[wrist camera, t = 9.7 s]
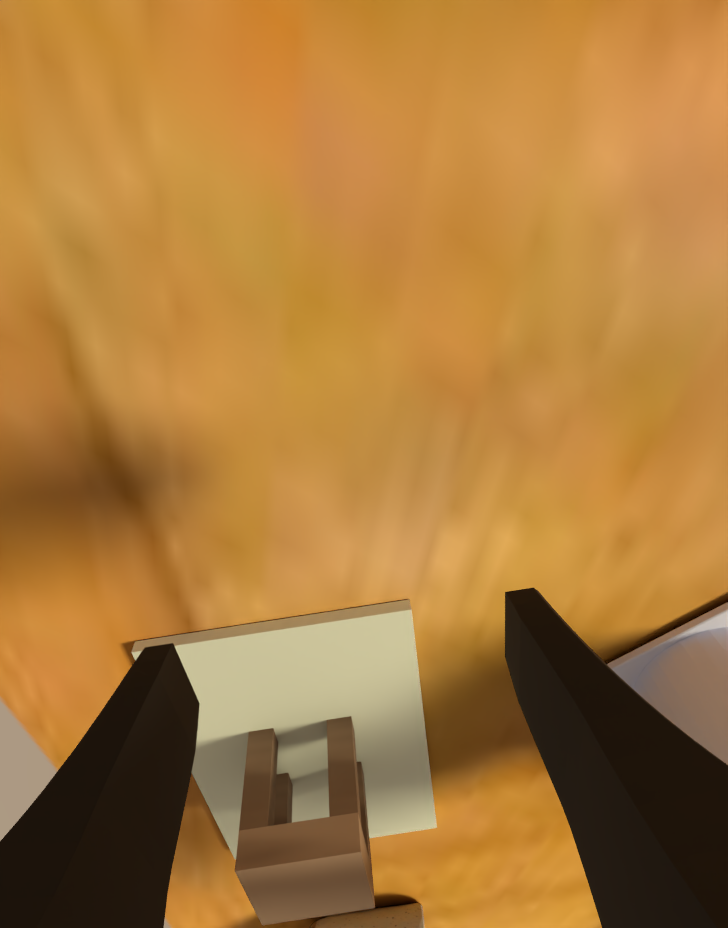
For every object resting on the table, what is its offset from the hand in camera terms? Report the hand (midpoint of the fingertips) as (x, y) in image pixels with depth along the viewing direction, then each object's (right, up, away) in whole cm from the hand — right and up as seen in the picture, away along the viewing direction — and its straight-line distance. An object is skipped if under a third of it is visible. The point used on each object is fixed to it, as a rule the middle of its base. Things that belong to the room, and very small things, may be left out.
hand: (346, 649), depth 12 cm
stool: (-2, -11, +16) cm, 20 cm away
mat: (-2, -10, +17) cm, 20 cm away
